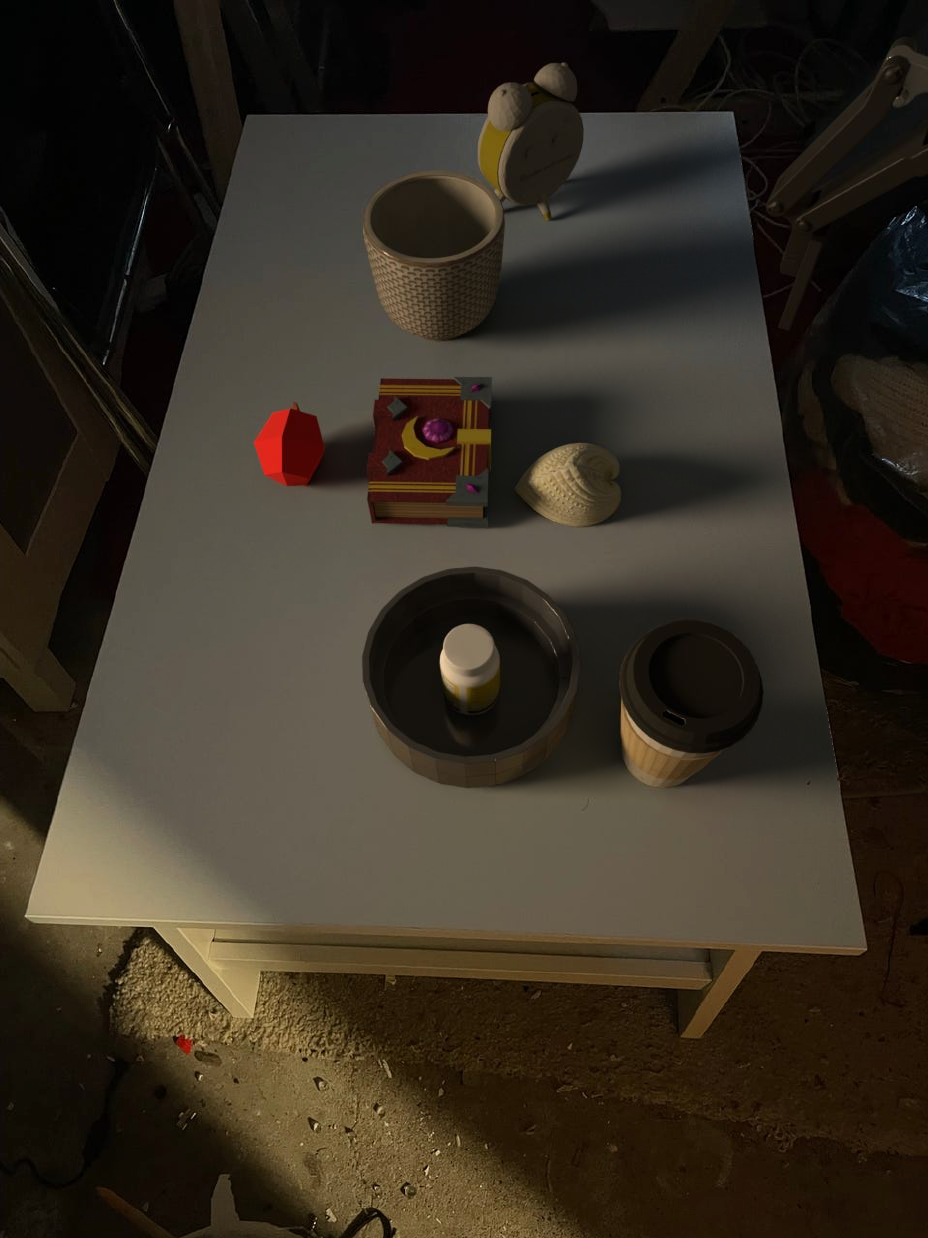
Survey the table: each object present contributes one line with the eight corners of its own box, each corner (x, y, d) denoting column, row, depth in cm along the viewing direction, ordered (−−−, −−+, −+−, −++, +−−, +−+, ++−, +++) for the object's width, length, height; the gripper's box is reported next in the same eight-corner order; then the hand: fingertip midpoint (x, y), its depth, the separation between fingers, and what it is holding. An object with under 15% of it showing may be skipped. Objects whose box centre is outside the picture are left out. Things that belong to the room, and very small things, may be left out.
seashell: (637, 520, 81) (567, 510, 77) (580, 536, 89) (513, 527, 85) (636, 434, 82) (566, 419, 78) (579, 457, 89) (513, 444, 85)
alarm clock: (554, 173, 109) (562, 44, 96) (588, 202, 106) (602, 74, 93) (475, 210, 106) (473, 83, 93) (509, 241, 103) (511, 115, 90)
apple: (304, 475, 81) (316, 391, 82) (238, 474, 83) (250, 392, 84) (335, 497, 88) (346, 419, 88) (274, 494, 89) (284, 418, 90)
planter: (525, 297, 99) (529, 192, 87) (466, 382, 93) (463, 281, 82) (415, 259, 102) (406, 154, 91) (353, 339, 96) (334, 237, 85)
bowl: (602, 647, 78) (611, 611, 72) (524, 824, 71) (527, 800, 65) (426, 578, 82) (421, 539, 76) (335, 739, 74) (322, 709, 69)
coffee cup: (738, 730, 74) (792, 650, 61) (690, 832, 70) (736, 770, 57) (631, 677, 76) (659, 588, 63) (578, 772, 73) (597, 699, 59)
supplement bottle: (506, 674, 76) (508, 628, 69) (490, 723, 74) (490, 681, 67) (453, 659, 77) (449, 612, 70) (435, 707, 75) (429, 664, 68)
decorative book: (369, 527, 85) (362, 496, 80) (383, 398, 92) (378, 363, 88) (488, 529, 84) (488, 498, 80) (493, 399, 92) (493, 364, 87)
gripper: (780, -53, 38) (685, 328, 56) (1459, 79, 32) (1104, 454, 51) (825, -132, 41) (720, 254, 60) (1450, -24, 35) (1119, 364, 54)
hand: (897, 346), depth 55 cm, fingers open, 13 cm apart
